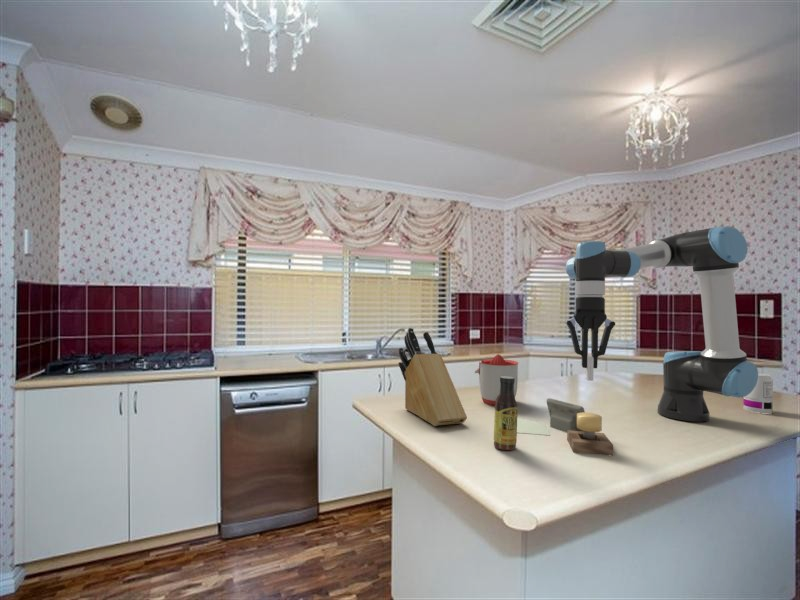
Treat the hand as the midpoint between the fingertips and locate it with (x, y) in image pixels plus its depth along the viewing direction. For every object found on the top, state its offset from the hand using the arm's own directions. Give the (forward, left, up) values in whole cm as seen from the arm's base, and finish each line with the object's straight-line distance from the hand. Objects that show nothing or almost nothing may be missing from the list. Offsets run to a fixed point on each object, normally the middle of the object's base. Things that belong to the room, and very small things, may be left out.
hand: (589, 379), depth 114 cm
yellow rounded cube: (0, 0, -14) cm, 14 cm away
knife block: (+50, -21, -20) cm, 58 cm away
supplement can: (-69, -54, -20) cm, 90 cm away
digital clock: (+4, -16, -20) cm, 26 cm away
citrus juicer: (+26, -44, -20) cm, 55 cm away
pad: (+16, -16, -19) cm, 30 cm away
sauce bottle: (+23, +6, -20) cm, 31 cm away
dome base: (0, 0, -19) cm, 19 cm away
